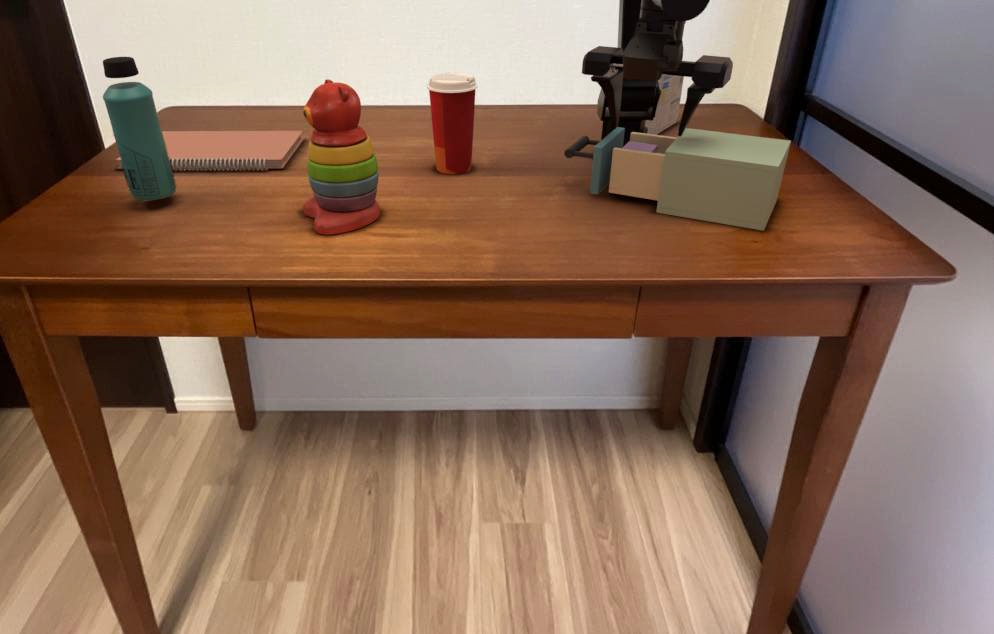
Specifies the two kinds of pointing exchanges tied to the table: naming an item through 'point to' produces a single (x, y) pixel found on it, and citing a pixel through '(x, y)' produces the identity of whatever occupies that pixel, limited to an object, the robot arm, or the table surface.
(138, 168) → the beverage bottle
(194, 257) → the table surface
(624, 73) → the robot arm
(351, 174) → the stacking bear
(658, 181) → the drawer
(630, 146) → the mauve rounded cube
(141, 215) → the table surface
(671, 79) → the light bulb box
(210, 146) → the notebook
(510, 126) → the table surface
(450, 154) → the paper cup
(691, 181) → the green drawer cabinet
